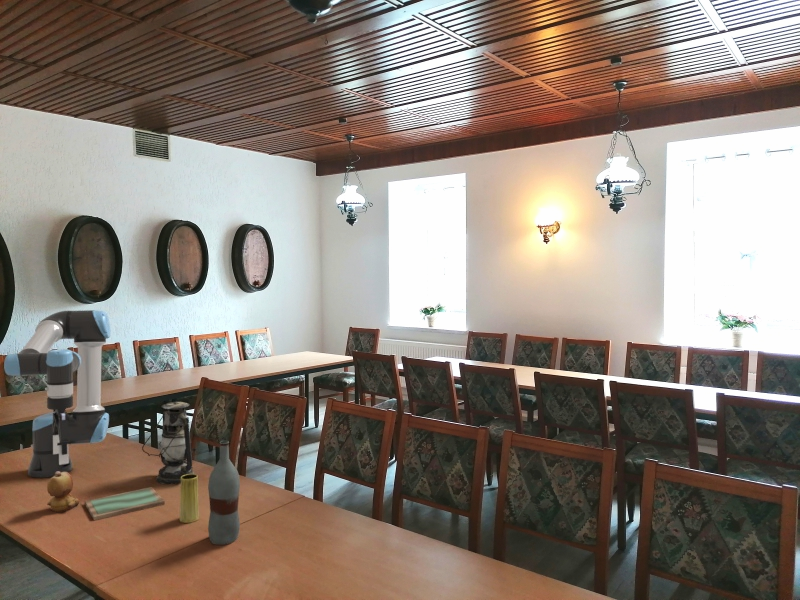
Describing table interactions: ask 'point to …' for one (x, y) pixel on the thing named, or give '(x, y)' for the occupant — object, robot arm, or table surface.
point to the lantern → (174, 444)
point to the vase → (189, 498)
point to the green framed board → (123, 503)
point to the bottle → (224, 500)
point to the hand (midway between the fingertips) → (60, 458)
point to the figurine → (61, 492)
